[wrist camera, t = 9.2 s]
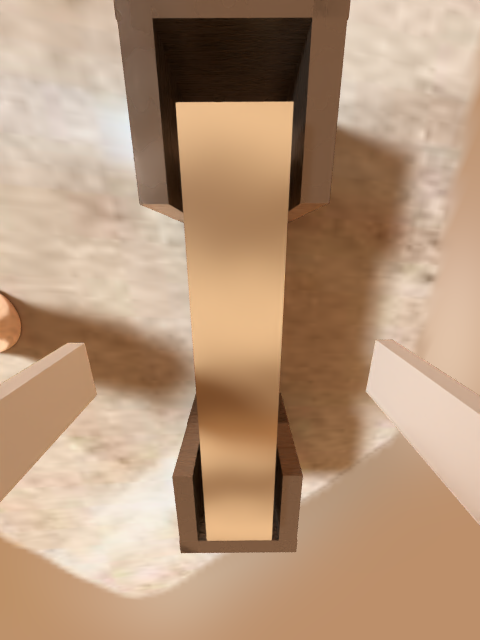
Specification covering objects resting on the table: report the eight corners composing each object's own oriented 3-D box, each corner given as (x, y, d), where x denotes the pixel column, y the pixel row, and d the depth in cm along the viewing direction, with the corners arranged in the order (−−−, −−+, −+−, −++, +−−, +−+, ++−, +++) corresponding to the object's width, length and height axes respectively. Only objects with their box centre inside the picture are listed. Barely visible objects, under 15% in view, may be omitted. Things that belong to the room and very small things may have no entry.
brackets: (175, 110, 16) (109, -31, 8) (295, 109, 16) (353, -32, 8) (200, 451, 25) (180, 552, 16) (277, 451, 25) (295, 552, 16)
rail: (200, 158, 13) (175, 102, 8) (272, 158, 13) (293, 101, 8) (215, 462, 20) (206, 540, 15) (263, 462, 20) (271, 540, 15)
